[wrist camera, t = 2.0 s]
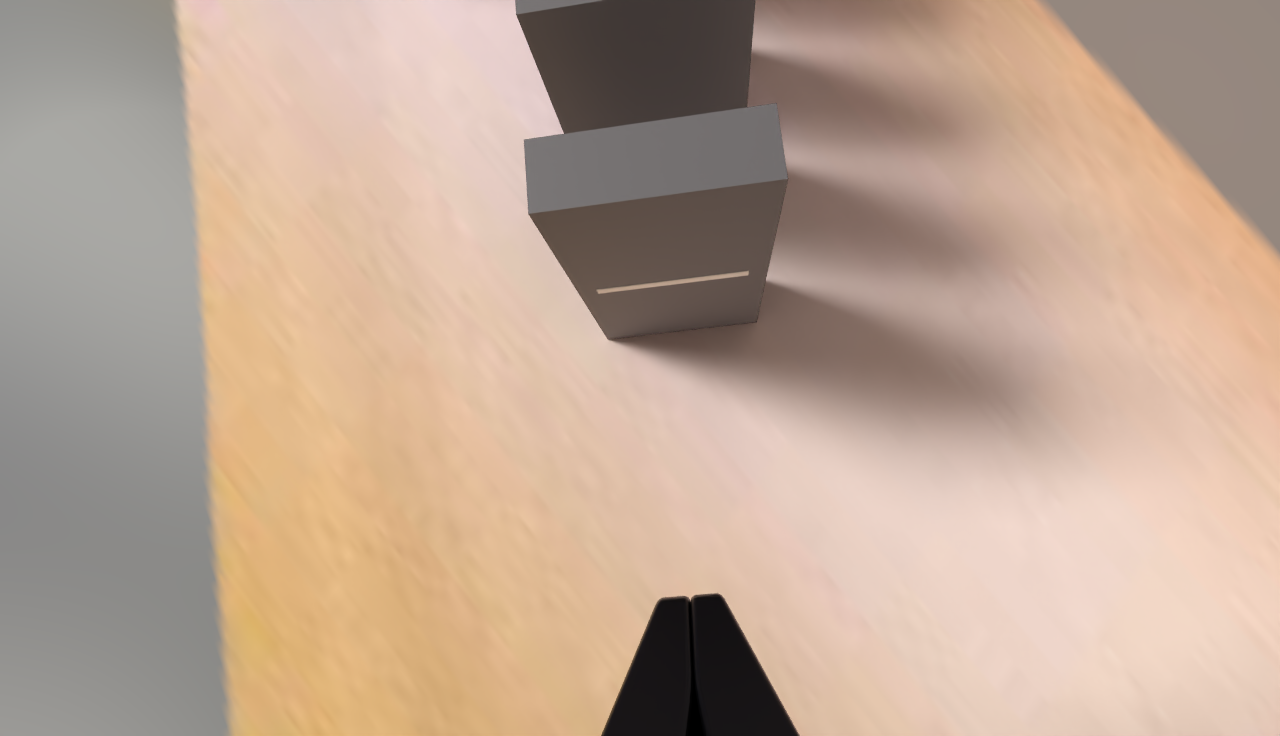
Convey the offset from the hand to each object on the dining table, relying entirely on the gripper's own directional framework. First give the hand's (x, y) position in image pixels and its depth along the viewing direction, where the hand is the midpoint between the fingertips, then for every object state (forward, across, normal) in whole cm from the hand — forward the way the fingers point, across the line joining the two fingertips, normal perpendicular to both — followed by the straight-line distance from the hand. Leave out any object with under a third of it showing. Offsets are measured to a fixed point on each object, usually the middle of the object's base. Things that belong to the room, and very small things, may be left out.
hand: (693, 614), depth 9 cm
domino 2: (+14, 0, +3) cm, 15 cm away
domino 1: (+18, 0, 0) cm, 18 cm away
